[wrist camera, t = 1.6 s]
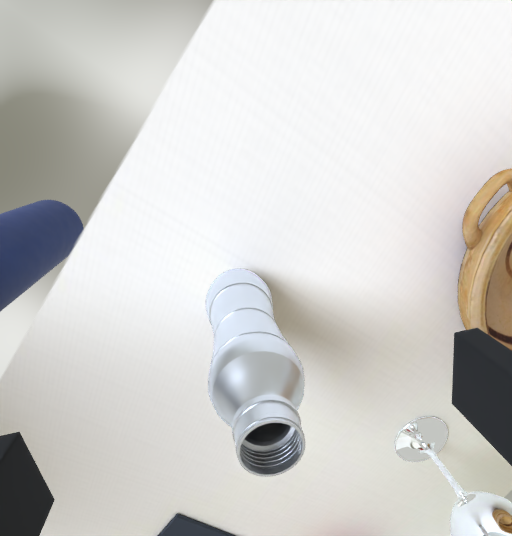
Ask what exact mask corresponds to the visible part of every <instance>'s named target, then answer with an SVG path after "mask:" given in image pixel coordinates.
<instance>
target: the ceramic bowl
mask: <svg viewBox="0 0 512 536" xmlns="http://www.w3.org/2000/svg"><path fill="white" fill-rule="evenodd" d="M506 183H507V185H508V187H509V192H507V193H506V194H505V195H504V196H503V197H502V198H501V199H500V200H499V201H498V202H497V203H496V205H495V206H494V207H493V208H492V209H491V210H490V211H489V212H488V214H487V215H486V217H485V218H484V219H483V221H482V222H481V224H480V225H479V227H478V222H479V218H480V215H481V213H482V211H483V210H484V208H485V207H486V205H487V204H488V202H489V201H490V200H491V199H492V197H493V196H494V195H495V194H496V193H497V191H498V190H499V189H500V188H501V187H502V186H503V185H505V184H506ZM463 236H464V240H465V243H466V245H467V250H466V253H465V256H464V259H463V261H462V264H461V269H460V275H459V280H458V304H459V310H460V315H461V319H462V321H463V324H464V326H465V328H466V330H469V329H474V328H479V329H480V330H482V331H483V332H485V333H486V334H488V335H489V336H491V337H492V338H494V339H495V340H497V341H498V342H500V343H501V344H503V345H504V346H506V347H507V348H509V349H510V350H512V169H507V170H503V171H501V172H499V173H497V174H495V175H494V176H493V177H491V178H490V179H489V180H488V181H487V182H486V183H485V184H484V186H483V187H482V188H481V189H480V191H479V192H478V193H477V195H476V196H475V197H474V198H473V200H472V201H471V203H470V204H469V206H468V208H467V210H466V212H465V215H464V218H463Z"/></svg>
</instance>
